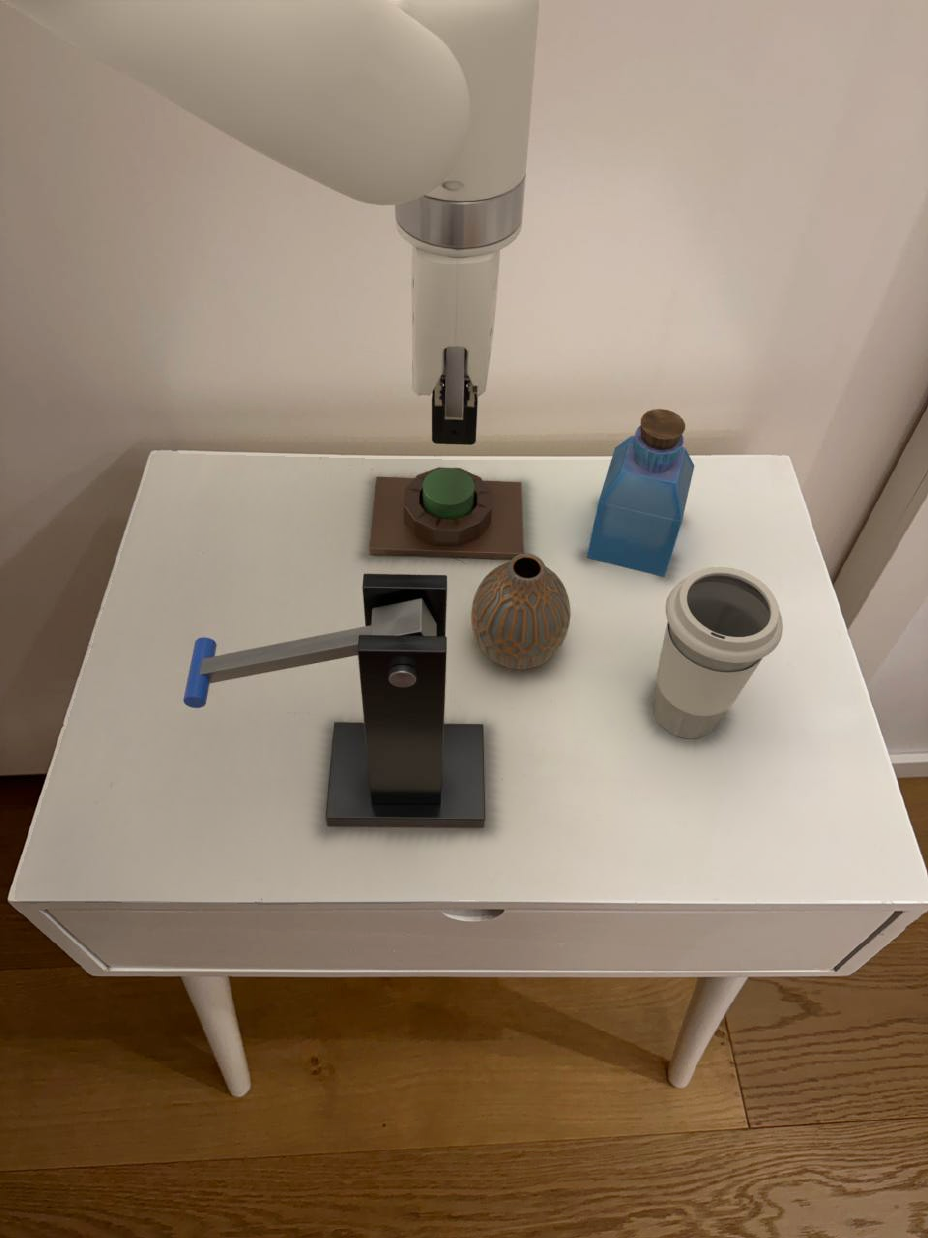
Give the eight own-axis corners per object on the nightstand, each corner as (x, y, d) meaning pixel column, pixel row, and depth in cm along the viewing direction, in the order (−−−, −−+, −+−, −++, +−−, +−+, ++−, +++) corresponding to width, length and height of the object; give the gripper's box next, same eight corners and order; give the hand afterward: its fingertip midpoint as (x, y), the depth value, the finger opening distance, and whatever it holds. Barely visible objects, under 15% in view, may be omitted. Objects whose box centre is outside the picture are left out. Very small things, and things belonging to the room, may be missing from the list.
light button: (421, 519, 74) (421, 503, 73) (423, 482, 76) (423, 466, 75) (473, 520, 74) (474, 505, 73) (473, 484, 76) (474, 468, 75)
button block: (369, 554, 74) (367, 532, 72) (376, 482, 79) (375, 459, 77) (522, 560, 75) (525, 538, 73) (520, 487, 79) (523, 465, 77)
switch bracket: (326, 826, 60) (298, 666, 46) (335, 730, 65) (311, 557, 50) (484, 828, 61) (503, 669, 47) (482, 732, 65) (499, 561, 51)
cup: (622, 728, 66) (656, 622, 56) (650, 656, 69) (687, 546, 60) (723, 767, 64) (775, 665, 54) (746, 692, 68) (799, 584, 58)
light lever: (195, 715, 53) (172, 693, 51) (207, 656, 55) (185, 632, 53) (436, 671, 49) (421, 645, 47) (437, 610, 52) (422, 583, 50)
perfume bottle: (586, 557, 75) (610, 442, 65) (602, 503, 79) (627, 387, 69) (664, 576, 74) (700, 462, 64) (677, 521, 78) (713, 405, 68)
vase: (484, 693, 67) (491, 617, 60) (458, 617, 71) (462, 537, 64) (577, 673, 68) (594, 596, 61) (546, 600, 72) (559, 520, 65)
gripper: (401, 133, 60) (408, 370, 75) (386, 270, 51) (397, 509, 66) (521, 137, 60) (504, 373, 75) (526, 275, 51) (506, 512, 66)
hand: (454, 436), depth 70 cm, fingers closed
